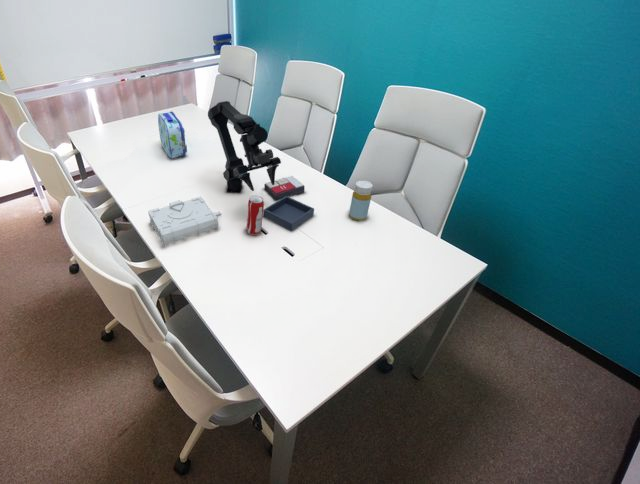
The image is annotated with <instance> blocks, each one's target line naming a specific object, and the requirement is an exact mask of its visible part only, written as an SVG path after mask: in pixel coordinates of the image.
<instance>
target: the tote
mask: <svg viewBox="0 0 640 484" xmlns="http://www.w3.org/2000/svg"><path fill="white" fill-rule="evenodd" d="M314 215H315V208H314V207H311V206H309V205H307V204H305V203H303V202H300V201H298V200H297V199H294V198H293V197H291V196H285V197H284V198H282V199H279V200H276V201H275V202H274V203H272V204H270V205H269V206H266V207H265V208H263V218H266V219H267V220H269V221H271V222H273V223H275V224H277V225H279V226H281V227H283V228H285V229H286V230H287V231H290V232H292V231H295V229H297V228H298V227H299V226H301V225H303V224H304V223H305V222H307V221H309V219H311V218H313V217H314Z"/></svg>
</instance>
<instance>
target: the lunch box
mask: <svg viewBox="0 0 640 484" xmlns="http://www.w3.org/2000/svg"><path fill="white" fill-rule="evenodd" d="M157 122H158V123H157V125H158V133H159V139H160V144H161V146H162V148H163V150H164V152H165V153H166V155H167V157H169V158H170V159H175V158H177V157H186V155H187V152H188V146H187V144H186V134H185V133H186V131H185V127H184V126H183V123H182V121H181V120H180V119H179V118H178V117H177V116H176V114H175V112H174V111H172V110H171V111H168V112H162V113H158V114H157Z"/></svg>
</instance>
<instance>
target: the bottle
mask: <svg viewBox="0 0 640 484" xmlns="http://www.w3.org/2000/svg"><path fill="white" fill-rule="evenodd" d="M373 186H374V185H373V184H372V182H371V181H368V180H358V181H356V182H355V186H354V190H353V192H352V195H351V200H350V205H349V211H348V216H349V217H350V219H352V220H354V221H358V222H359V221H360V222H361V221H364V220H365V219H367V218H368V213H369V210H370V205H371V200H372V190H373Z"/></svg>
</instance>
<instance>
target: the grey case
mask: <svg viewBox="0 0 640 484" xmlns="http://www.w3.org/2000/svg"><path fill="white" fill-rule="evenodd" d="M147 213H148V216H149V223H150V225H151V227H152V228H153V229H154V230H155V232H156V234H157V237H158V238H159V240H160V242H161V244H162V245H163V246H167V244H170V243H176V242H178V241H179V242H180V241H182V240H185V239H186V238H188V237H192V236H195V235H201V234H204V233H207V232H210V231H211V230H213V229H214V230H217V229H218V228H219V219H218V217H217V216H220V215H222V212H221V211H220V210H219V211H216V212H214V211H213V210H212V209H211V208H210V207H209V205H208V204H207V203H206V201H205V200H204V198H203V197H202V196H201V195H200V196H196V197H193V198H191V199H189V200H185V201H182V200H175V201H172V202H169V204H168V205H167V206H163V207H160V208H159V207H158V208H153V209H149V210H147Z"/></svg>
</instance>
